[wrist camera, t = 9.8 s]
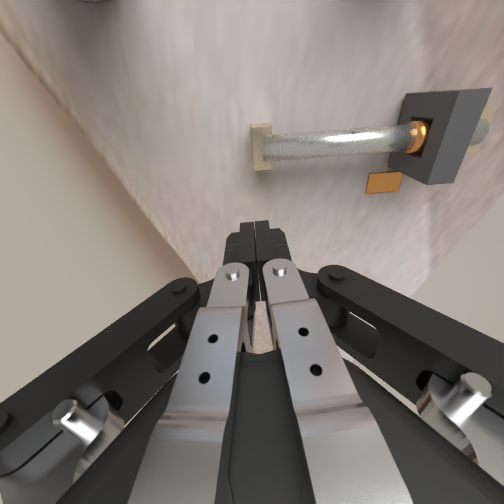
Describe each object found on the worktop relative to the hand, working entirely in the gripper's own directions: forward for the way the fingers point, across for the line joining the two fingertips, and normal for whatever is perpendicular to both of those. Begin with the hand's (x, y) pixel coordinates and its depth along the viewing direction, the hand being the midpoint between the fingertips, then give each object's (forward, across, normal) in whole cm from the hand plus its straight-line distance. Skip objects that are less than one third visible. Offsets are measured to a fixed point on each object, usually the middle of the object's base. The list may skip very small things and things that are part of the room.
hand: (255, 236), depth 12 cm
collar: (+25, -22, 0) cm, 33 cm away
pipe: (+25, -15, +3) cm, 29 cm away
